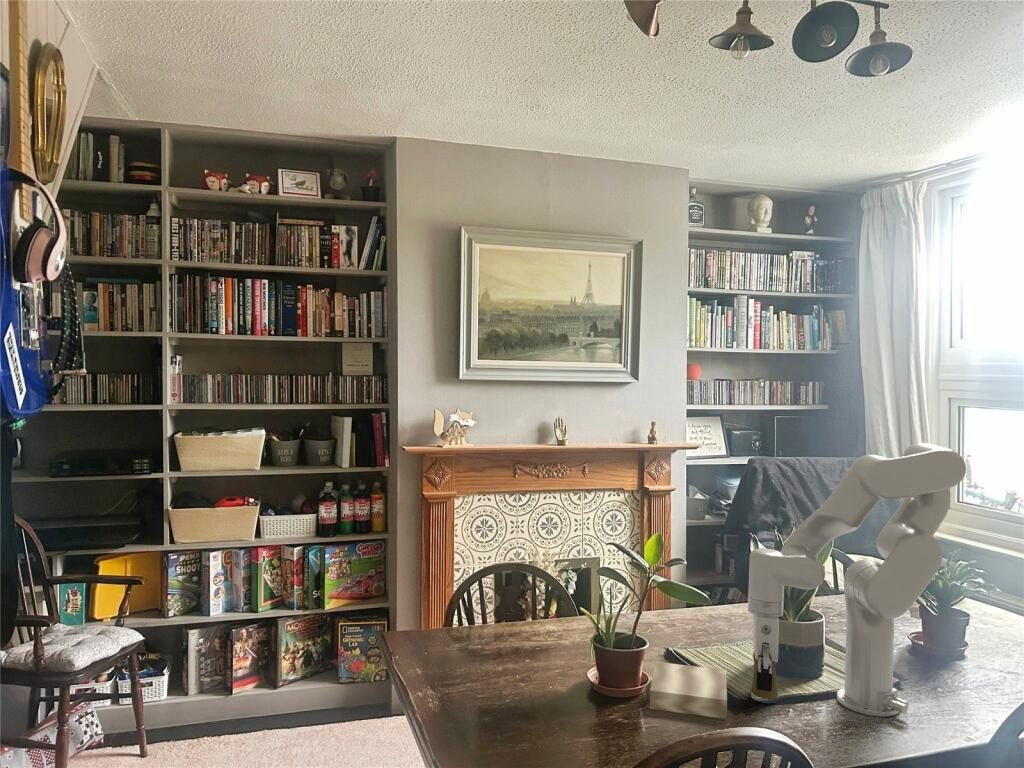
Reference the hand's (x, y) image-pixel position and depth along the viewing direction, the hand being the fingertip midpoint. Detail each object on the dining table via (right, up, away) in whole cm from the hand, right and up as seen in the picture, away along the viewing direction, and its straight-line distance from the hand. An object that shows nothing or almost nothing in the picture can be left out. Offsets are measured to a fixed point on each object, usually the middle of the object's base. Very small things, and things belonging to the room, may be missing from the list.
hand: (762, 680), depth 163 cm
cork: (0, -4, 0) cm, 4 cm away
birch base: (-17, -4, 0) cm, 17 cm away
